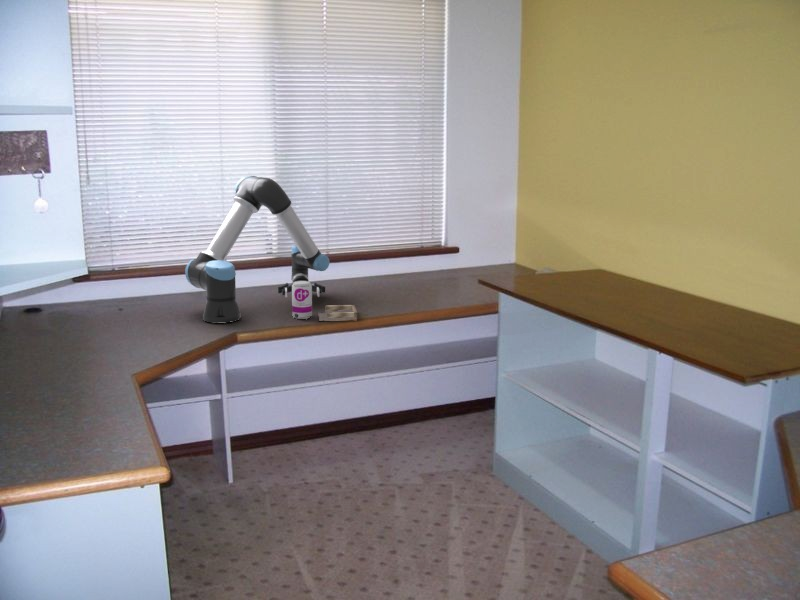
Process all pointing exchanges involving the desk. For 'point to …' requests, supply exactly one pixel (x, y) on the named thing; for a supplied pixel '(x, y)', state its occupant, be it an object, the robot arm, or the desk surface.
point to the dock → (340, 314)
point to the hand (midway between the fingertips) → (302, 293)
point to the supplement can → (301, 299)
